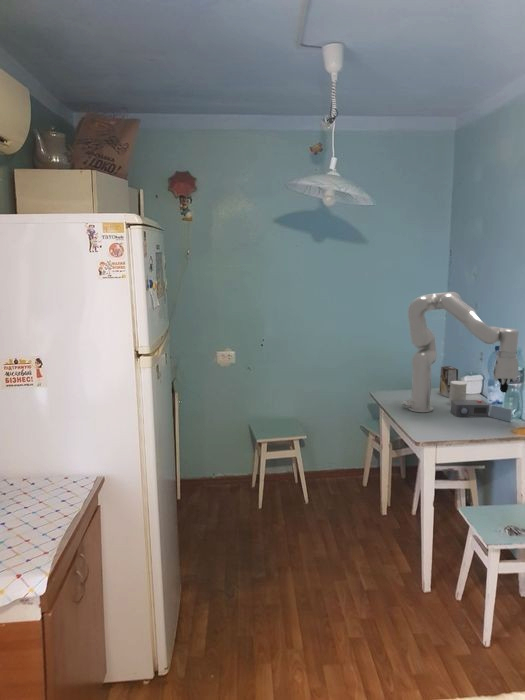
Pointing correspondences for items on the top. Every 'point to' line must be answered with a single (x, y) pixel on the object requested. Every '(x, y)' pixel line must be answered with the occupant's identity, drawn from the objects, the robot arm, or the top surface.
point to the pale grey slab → (500, 412)
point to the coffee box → (447, 379)
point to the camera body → (470, 408)
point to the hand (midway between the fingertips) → (503, 391)
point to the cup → (457, 390)
